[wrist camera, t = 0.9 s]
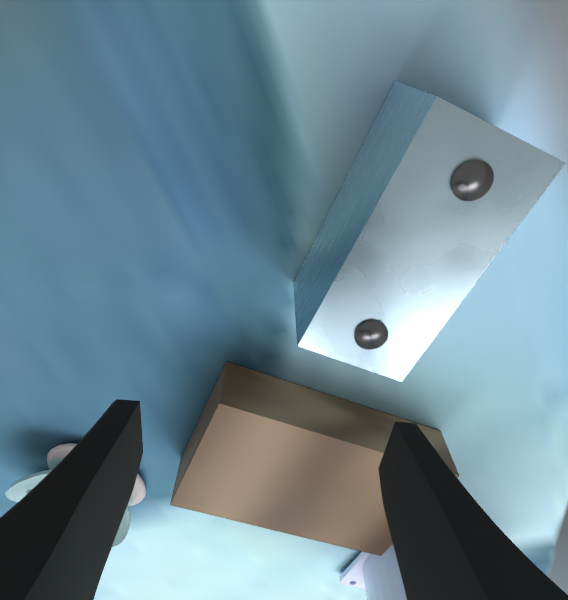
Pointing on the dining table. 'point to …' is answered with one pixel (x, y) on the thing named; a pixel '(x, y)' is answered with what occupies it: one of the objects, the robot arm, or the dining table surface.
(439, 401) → the dining table surface
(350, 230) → the block
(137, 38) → the dining table surface
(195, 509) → the stand
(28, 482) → the pacifier
